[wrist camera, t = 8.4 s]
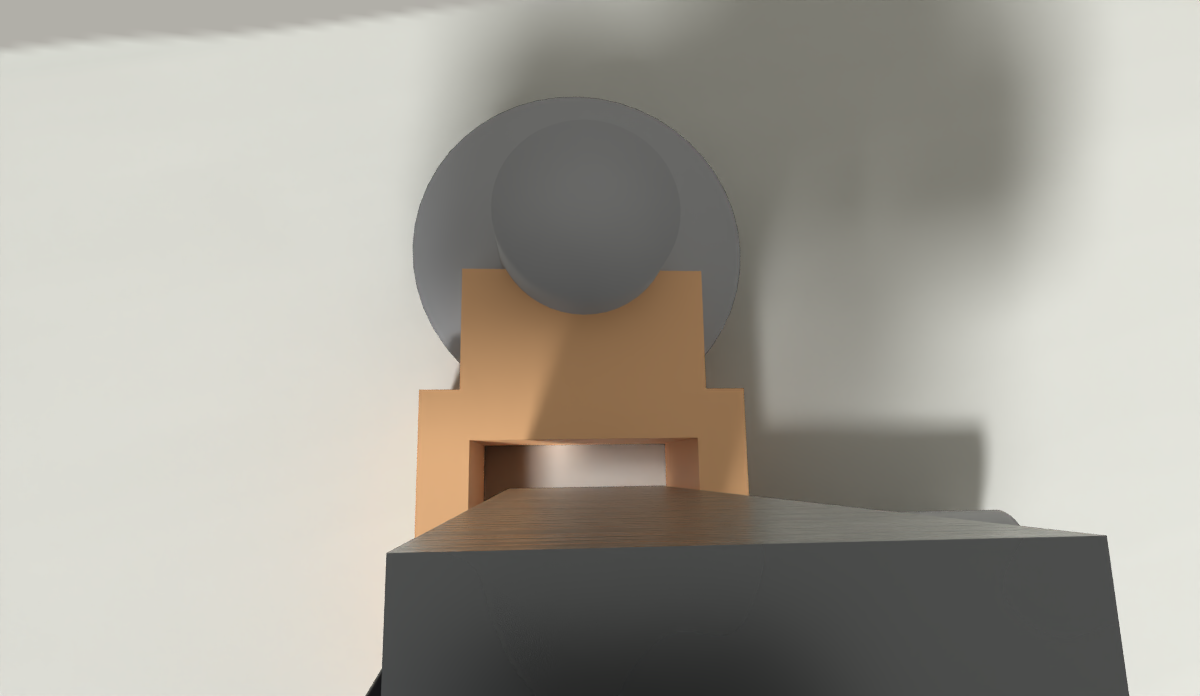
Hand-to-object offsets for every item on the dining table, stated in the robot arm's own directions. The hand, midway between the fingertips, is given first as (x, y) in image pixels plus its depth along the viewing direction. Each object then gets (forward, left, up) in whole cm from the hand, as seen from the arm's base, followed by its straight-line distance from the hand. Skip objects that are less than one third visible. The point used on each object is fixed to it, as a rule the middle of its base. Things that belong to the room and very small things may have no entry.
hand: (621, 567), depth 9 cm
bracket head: (+4, -3, -12) cm, 13 cm away
